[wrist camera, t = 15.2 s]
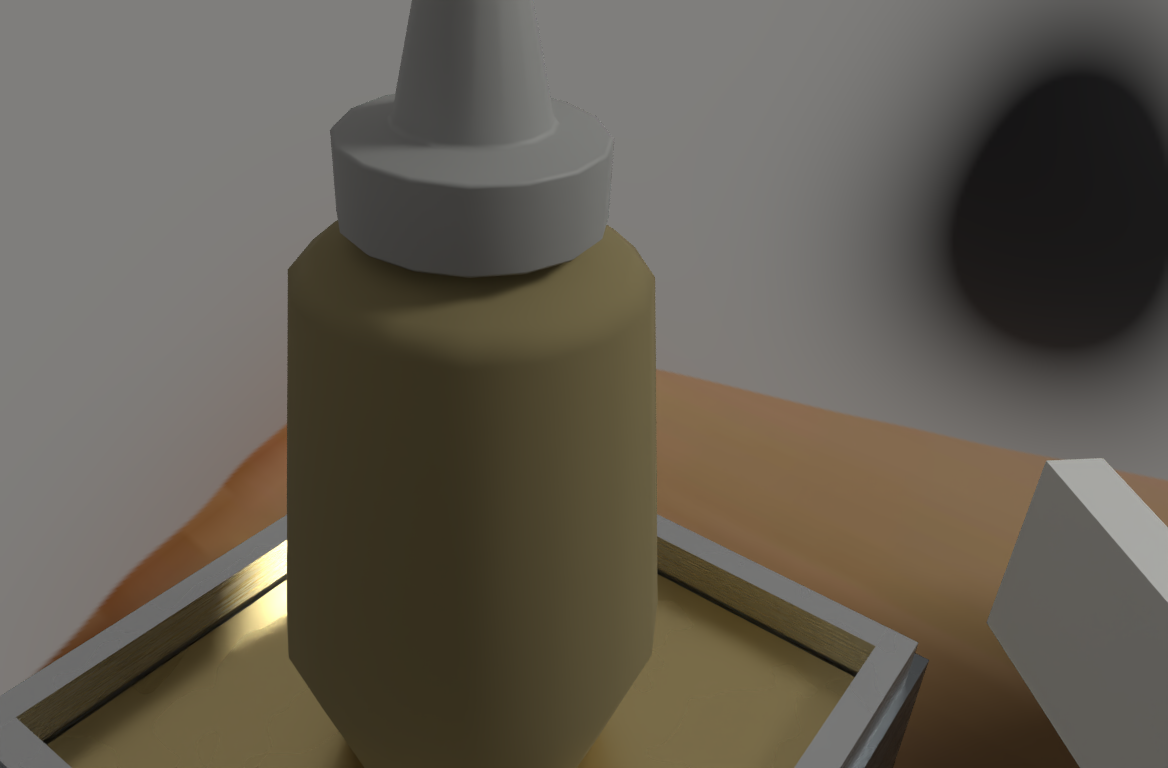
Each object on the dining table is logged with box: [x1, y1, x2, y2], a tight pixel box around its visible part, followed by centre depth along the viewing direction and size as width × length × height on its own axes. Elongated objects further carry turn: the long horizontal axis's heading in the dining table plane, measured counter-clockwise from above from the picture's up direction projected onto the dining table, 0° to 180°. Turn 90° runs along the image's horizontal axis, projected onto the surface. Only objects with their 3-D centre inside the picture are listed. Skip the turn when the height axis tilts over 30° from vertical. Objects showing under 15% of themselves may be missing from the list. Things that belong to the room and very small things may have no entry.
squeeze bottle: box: [287, 0, 658, 768], centre depth 20 cm, size 8×8×18 cm
